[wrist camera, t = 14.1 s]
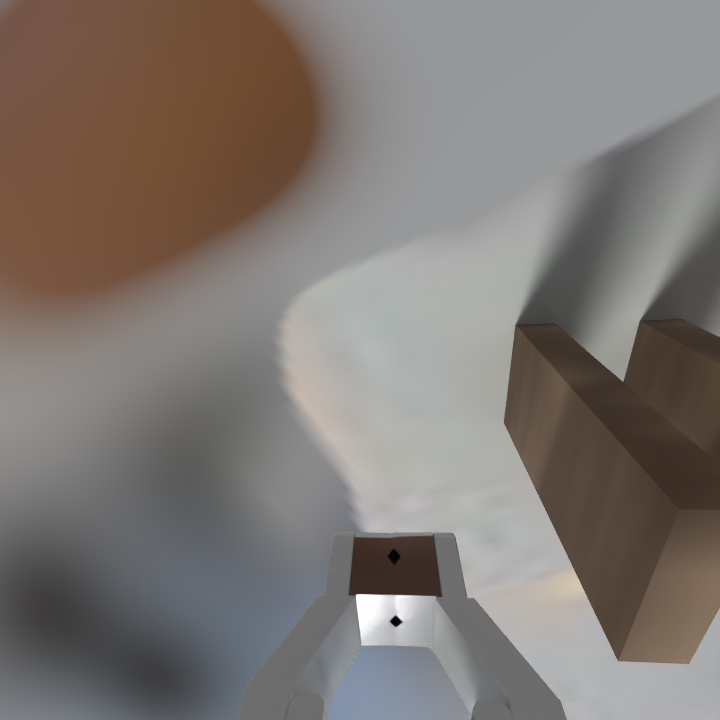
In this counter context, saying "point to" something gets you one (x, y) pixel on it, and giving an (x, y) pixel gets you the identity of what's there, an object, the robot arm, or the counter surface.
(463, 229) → the counter surface
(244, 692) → the robot arm
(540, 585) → the counter surface
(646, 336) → the tile
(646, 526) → the end tile
